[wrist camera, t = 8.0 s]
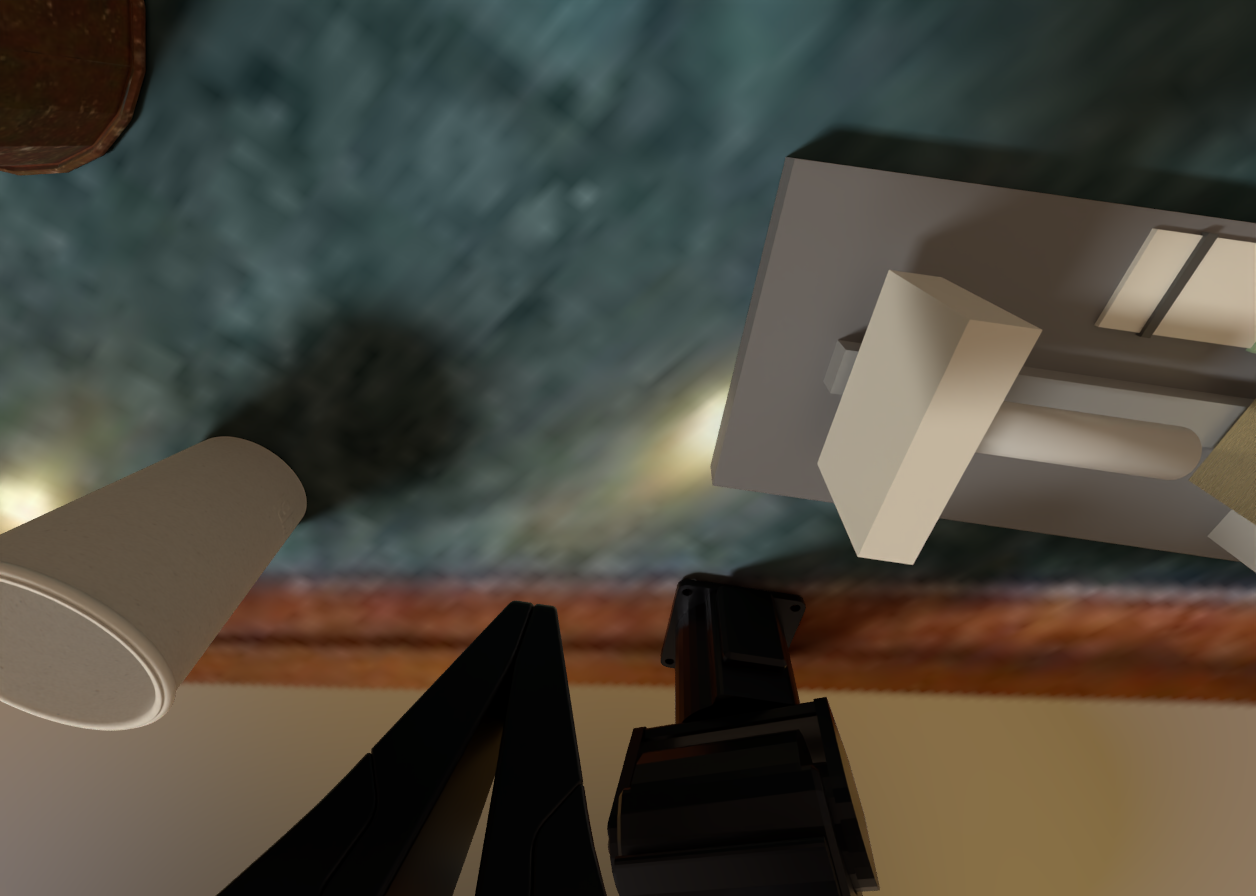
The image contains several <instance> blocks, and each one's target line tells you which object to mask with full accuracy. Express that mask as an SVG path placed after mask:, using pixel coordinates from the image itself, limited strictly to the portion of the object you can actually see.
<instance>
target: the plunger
mask: <svg viewBox="0 0 1256 896" xmlns="http://www.w3.org/2000/svg"><path fill="white" fill-rule="evenodd" d="M1041 332H1042V329H1040V328H1038V327H1036V326H1034V325H1032V324H1030V323H1028V322H1026V321H1025V320H1023V319H1021V318H1019V317H1017V316H1015V315H1013V314H1011V313H1009V312H1007V311H1005V310H1004V309H1002V308H1000V307H998V306H996V305H994V304H992V303H990V302H988V301H986V300H984V299H982V298H981V297H979V296H977V295H975V294H973V293H971V292H969V291H967V290H965V289H963V288H961V287H959V286H958V285H956V284H954V283H952V282H950V281H948V280H946V279H944V278H942V277H936V276H929V275H922V274H915V273H908V272H901V271H894V270H889V271H888V274H887V276H886V279H885V282H884V284H883V287H882V290H881V293H880V295H879V298H878V301H877V303H876V306H875V309H874V311H873V314H872V317H871V320H870V322H869V325H868V328H867V330H866V333H865V336H864V338H863V341H862V344H861V347H860V349H859V352H858V355H857V357H856V360H855V363H854V365H853V368H852V371H851V374H850V376H849V379H848V382H847V384H846V387H845V390H844V392H843V395H842V398H841V401H840V403H839V406H838V409H837V411H836V414H835V417H834V419H833V422H832V425H831V428H830V430H829V433H828V436H827V438H826V441H825V444H824V446H823V449H822V452H821V455H820V457H819V460H818V463H817V464H818V467H819V469H820V471H821V474H822V476H823V478H824V481H825V483H826V485H827V487H828V490H829V492H830V494H831V497H832V499H833V501H834V504H835V506H836V508H837V510H838V513H839V515H840V517H841V520H842V522H843V524H844V527H845V529H846V531H847V533H848V536H849V538H850V540H851V543H852V545H853V547H854V550H855V552H856V554H857V556H858V557H862V558H869V559H876V560H883V561H889V562H896V563H903V564H910V565H913V564H914V562H915V560H916V558H917V557H918V555H919V553H920V551H921V549H922V548H923V546H924V544H925V542H926V540H927V538H928V537H929V535H930V533H931V531H932V529H933V528H934V526H935V524H936V522H937V520H938V519H939V517H940V515H941V513H942V511H943V509H944V508H945V506H946V504H947V502H948V500H949V499H950V497H951V495H952V493H953V491H954V490H955V488H956V486H957V484H958V482H959V481H960V479H961V477H962V475H963V473H964V471H965V470H966V468H967V466H968V464H969V462H970V461H971V459H972V457H973V455H974V453H975V452H976V453H983V454H990V455H997V456H1004V457H1011V458H1018V459H1025V460H1032V461H1038V462H1045V463H1052V464H1059V465H1066V466H1073V467H1080V468H1087V469H1094V470H1101V471H1108V472H1115V473H1122V474H1129V475H1136V476H1143V477H1149V478H1156V479H1163V480H1175V479H1179V478H1182V477H1184V476H1186V475H1188V474H1189V473H1190V472H1191V471H1193V469H1194V468H1195V467H1196V466H1197V464H1198V463H1199V461H1200V458H1201V454H1202V446H1201V442H1200V439H1199V438H1198V436H1197V435H1196V434H1195V433H1194V432H1193V431H1192V430H1190V429H1188V428H1186V427H1182V426H1175V425H1168V424H1161V423H1154V422H1147V421H1140V420H1133V419H1126V418H1119V417H1112V416H1105V415H1098V414H1091V413H1084V412H1077V411H1071V410H1064V409H1057V408H1050V407H1043V406H1036V405H1029V404H1022V403H1015V402H1008V401H1004V399H1005V397H1006V395H1007V394H1008V392H1009V390H1010V388H1011V386H1012V385H1013V383H1014V381H1015V379H1016V377H1017V375H1018V374H1019V372H1020V370H1021V368H1022V366H1023V365H1024V363H1025V361H1026V359H1027V357H1028V356H1029V354H1030V352H1031V350H1032V348H1033V346H1034V345H1035V343H1036V341H1037V339H1038V337H1039V336H1040V334H1041Z"/></svg>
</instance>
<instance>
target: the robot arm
mask: <svg viewBox="0 0 1256 896" xmlns="http://www.w3.org/2000/svg"><path fill="white" fill-rule="evenodd" d="M684 589H690V590H684ZM792 605H795V606H792ZM805 608H806V607H805V603H804V600H803V598H802V597H800V596H797V595H791V594H785V593H778V592H771V591H764V590H757V589H750V588H744V587H737V586H730V585H723V584H716V583H709V582H702V581H696V580H682V581H680V582H679V583H678V585H677V589H676V593H675V597H674V601H673V605H672V610H671V614H670V618H669V622H668V627H667V631H666V635H665V639H664V643H663V648H662V652H661V663H662V665H664V666H666V667H670V668H675V724H671V725H665V726H659V727H653V728H646V727H639V728H634V729H633V732H632V736H631V740H630V743H629V747H628V750H627V753H626V757H625V761H624V765H623V769H622V772H621V776H620V780H619V783H618V787H617V791H616V794H615V798H614V802H613V806H612V809H611V813H610V817H609V821H608V828H607V830H608V836H609V841H608V850H609V854H610V860H611V866H612V873H613V877H614V881H615V885H616V888H617V891H618V893H619V896H863V895H862V891H877V890H880V887H879V882H878V877H877V872H876V868H875V863H874V859H873V854H872V849H871V844H870V840H869V835H868V830H867V826H866V821H865V816H864V812H863V809H862V806H861V802H860V798H859V795H858V791H857V788H856V784H855V781H854V777H853V774H852V771H851V767H850V764H849V760H848V757H847V754H846V751H845V748H844V745H843V743H842V740H841V737H840V734H839V731H838V728H837V726H836V723H835V720H834V717H833V714H832V712H831V709H830V706H829V703H828V700H827V697H823V698H817V699H814V701H813V702H807V703H801V704H800V701H799V696H798V692H797V687H796V683H795V678H794V673H793V669H792V664H791V660H790V655H789V651H788V648H789V646H790V644H791V641H792V639H793V637H794V634H795V632H796V630H797V627H798V625H799V623H800V621H801V618H802V616H803V614H804V611H805ZM494 776H495V779H494ZM493 779H494V785H493V791H492V797H491V803H490V809H489V815H488V821H487V827H486V833H485V839H484V844H483V850H482V857H481V862H480V868H479V874H478V880H477V886H476V893H475V896H607V894H606V891H605V887H604V883H603V879H602V875H601V871H600V867H599V863H598V859H597V855H596V851H595V847H594V842H593V836H592V832H591V826H590V821H589V815H588V810H587V802H586V796H585V790H584V786H583V779H582V771H581V765H580V758H579V752H578V745H577V739H576V733H575V726H574V719H573V713H572V706H571V700H570V693H569V687H568V680H567V673H566V667H565V660H564V654H563V647H562V641H561V634H560V628H559V621H558V615H557V609H556V608H555V607H554V606H549V605H542V604H536V605H535V606H534V605H533V604H532V603H529V602H522V601H512V602H511V603H509V604H508V605H507V607H506V608H505V609H504V610H503V611H502V612H501V613H500V614H499V615H498V616H497V617H496V618H495V619H494V620H493V621H492V622H491V623H490V624H489V626H488V627H487V628H486V629H485V630H484V631H483V632H482V633H481V634H480V635H479V636H478V637H477V638H476V639H475V640H474V641H473V642H472V643H471V644H470V646H469V647H468V648H467V649H466V650H465V651H464V652H463V653H462V654H461V655H460V656H459V657H458V658H457V659H456V660H455V661H454V662H453V663H452V665H451V666H450V667H449V668H448V669H447V670H446V671H445V672H444V673H443V674H442V675H441V676H440V677H439V678H438V679H437V680H436V681H435V682H434V684H433V685H432V686H431V687H430V688H429V689H428V690H427V691H426V692H425V693H424V694H423V695H422V696H421V697H420V698H419V699H418V700H417V702H415V704H414V705H413V706H412V707H411V708H410V709H409V710H408V711H407V712H406V713H405V714H404V715H403V716H402V717H401V718H400V719H399V721H397V723H396V724H395V725H394V726H393V727H392V728H391V729H390V730H389V731H388V732H387V733H386V734H385V735H384V736H383V737H382V738H381V739H380V741H379V742H378V743H377V744H376V745H375V746H374V747H373V748H372V749H371V753H367V754H366V755H365V756H364V757H363V758H362V759H361V760H360V761H359V762H358V763H357V764H356V766H355V767H354V768H353V769H352V770H351V771H350V772H349V773H348V774H347V775H346V776H345V777H344V778H343V779H342V780H341V781H340V782H339V783H338V784H337V785H336V786H335V787H334V788H333V789H332V790H331V791H330V792H329V793H328V794H327V795H326V796H325V797H324V798H323V799H322V800H321V801H320V802H319V803H318V804H317V805H316V806H315V807H314V808H313V809H312V810H311V811H309V812H308V814H306V815H305V816H304V817H303V818H302V819H301V820H300V821H299V822H298V823H296V825H294V826H293V827H292V828H291V829H290V830H289V831H288V832H287V833H286V834H285V835H284V836H282V837H281V838H280V839H279V840H278V841H277V842H276V843H274V844H273V845H272V846H271V847H270V848H269V849H268V850H267V851H266V852H264V853H263V854H262V855H261V856H260V857H259V858H258V859H257V860H255V861H254V862H253V863H252V864H251V865H250V866H249V867H247V868H246V869H245V870H244V871H243V872H242V873H241V874H240V875H238V876H237V877H236V878H235V879H234V880H233V881H232V882H231V883H230V884H228V885H227V886H226V887H225V888H224V889H223V890H221V891H220V892H219V893H218V894H217V895H216V896H453V893H454V890H455V887H456V884H457V881H458V878H459V875H460V873H461V870H462V867H463V864H464V862H465V859H466V856H467V853H468V850H469V847H470V845H471V842H472V839H473V836H474V833H475V830H476V828H477V825H478V822H479V819H480V816H481V813H482V810H483V808H484V805H485V802H486V799H487V796H488V793H489V791H490V788H491V785H492V782H493Z"/></svg>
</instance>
